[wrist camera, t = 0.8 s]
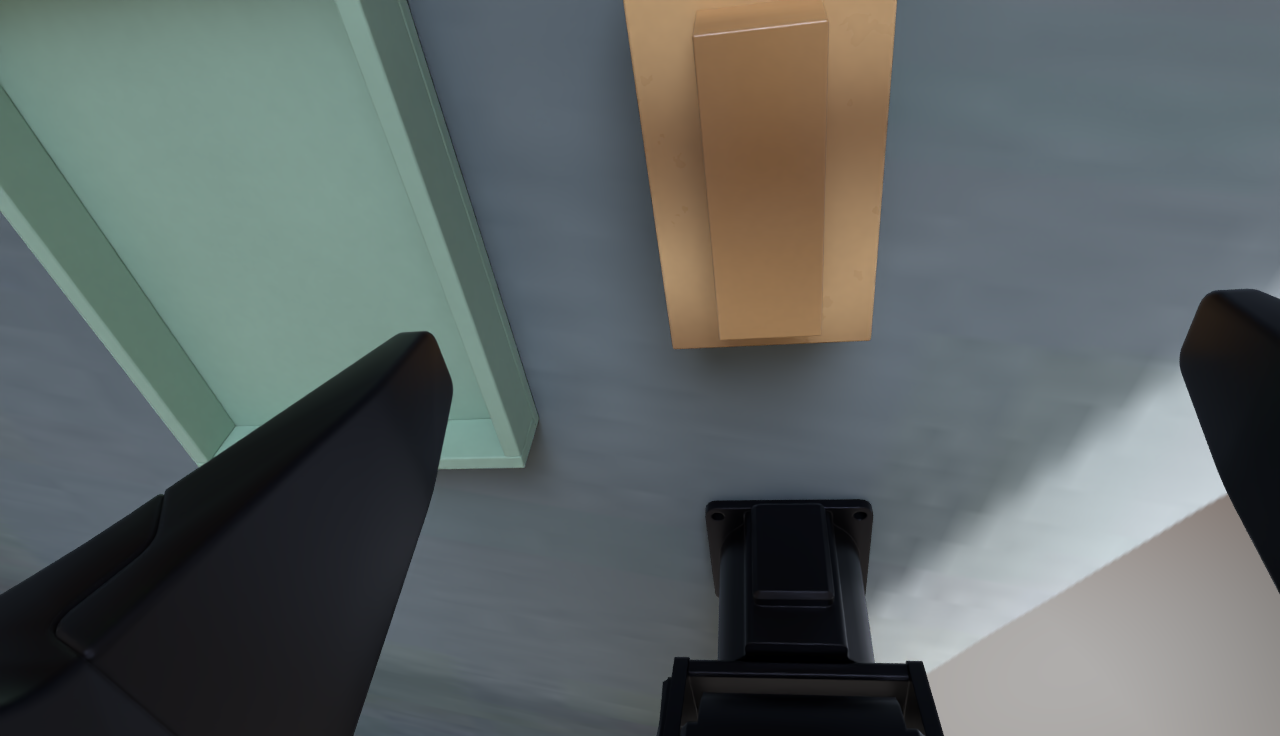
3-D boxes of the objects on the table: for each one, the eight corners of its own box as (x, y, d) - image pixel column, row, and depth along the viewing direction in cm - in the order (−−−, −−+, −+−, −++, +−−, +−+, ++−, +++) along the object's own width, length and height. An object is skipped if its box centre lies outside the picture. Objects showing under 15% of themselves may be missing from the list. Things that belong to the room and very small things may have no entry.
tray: (539, 418, 28) (525, 468, 26) (237, 427, 30) (203, 474, 28) (352, -173, 16) (301, -161, 14) (-120, -89, 18) (-219, -69, 16)
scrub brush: (854, 262, 22) (880, 382, 18) (681, 273, 23) (668, 389, 19) (875, -138, 16) (923, -93, 12) (635, -102, 16) (600, -48, 12)
